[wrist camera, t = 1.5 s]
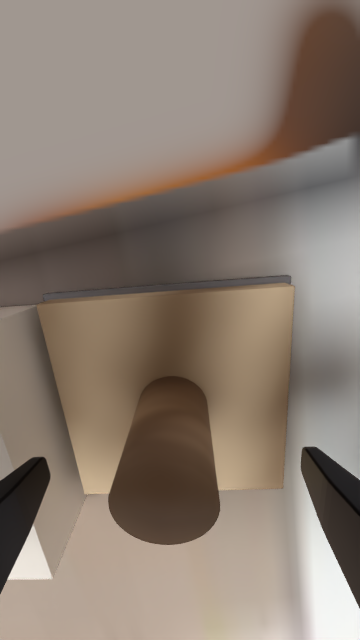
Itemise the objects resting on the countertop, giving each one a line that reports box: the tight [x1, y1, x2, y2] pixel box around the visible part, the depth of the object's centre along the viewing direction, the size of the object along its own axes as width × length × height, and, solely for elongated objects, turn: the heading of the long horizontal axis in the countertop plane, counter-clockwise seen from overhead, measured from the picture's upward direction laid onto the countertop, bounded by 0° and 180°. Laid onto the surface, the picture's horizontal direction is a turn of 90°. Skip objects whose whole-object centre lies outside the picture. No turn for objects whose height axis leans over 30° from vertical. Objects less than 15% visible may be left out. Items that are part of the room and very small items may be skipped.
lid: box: [36, 283, 295, 545], centre depth 10 cm, size 10×10×6 cm
